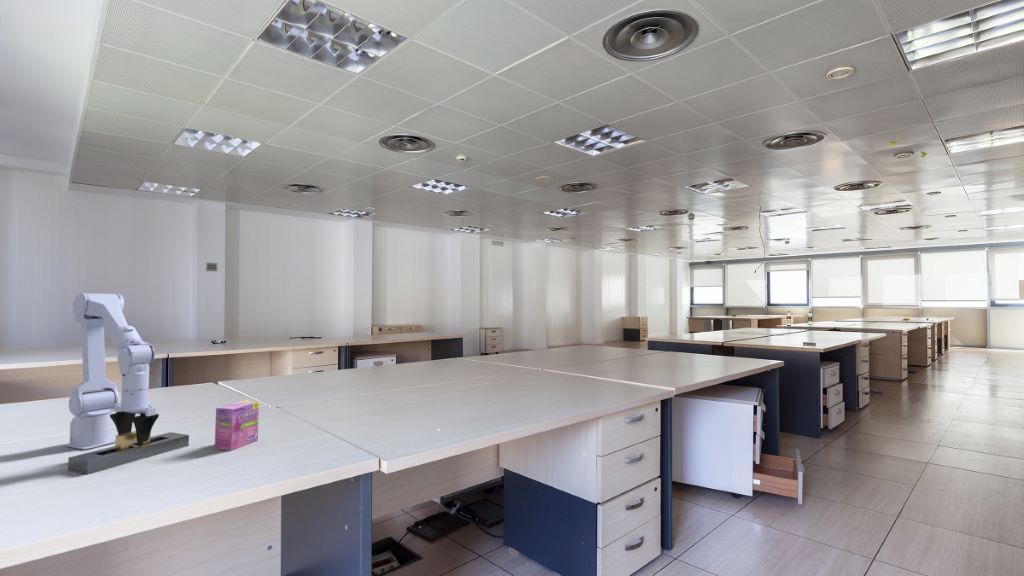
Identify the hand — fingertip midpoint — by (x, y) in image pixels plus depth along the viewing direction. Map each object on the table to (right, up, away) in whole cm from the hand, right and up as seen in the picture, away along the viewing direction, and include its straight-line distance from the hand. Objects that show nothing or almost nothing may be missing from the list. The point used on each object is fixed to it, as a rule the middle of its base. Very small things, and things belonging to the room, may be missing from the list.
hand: (133, 440), depth 123 cm
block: (0, -4, 0) cm, 4 cm away
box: (+21, -5, +11) cm, 25 cm away
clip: (0, -4, 0) cm, 4 cm away
